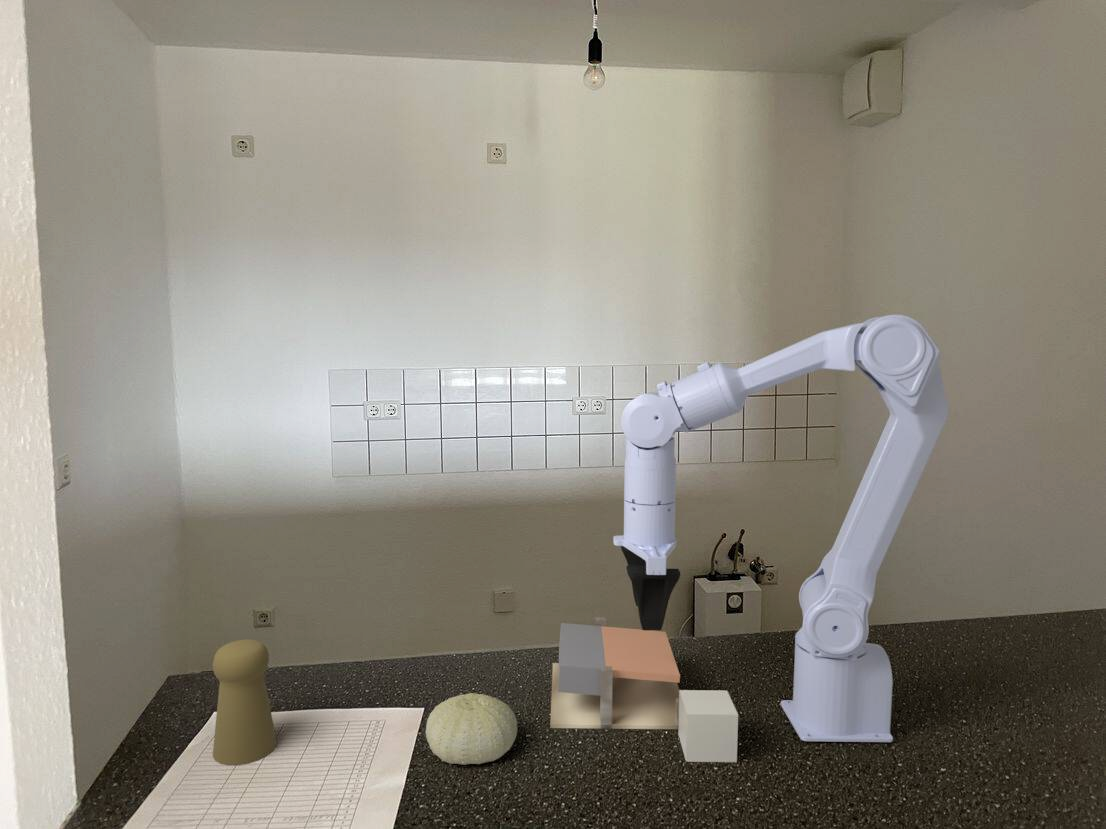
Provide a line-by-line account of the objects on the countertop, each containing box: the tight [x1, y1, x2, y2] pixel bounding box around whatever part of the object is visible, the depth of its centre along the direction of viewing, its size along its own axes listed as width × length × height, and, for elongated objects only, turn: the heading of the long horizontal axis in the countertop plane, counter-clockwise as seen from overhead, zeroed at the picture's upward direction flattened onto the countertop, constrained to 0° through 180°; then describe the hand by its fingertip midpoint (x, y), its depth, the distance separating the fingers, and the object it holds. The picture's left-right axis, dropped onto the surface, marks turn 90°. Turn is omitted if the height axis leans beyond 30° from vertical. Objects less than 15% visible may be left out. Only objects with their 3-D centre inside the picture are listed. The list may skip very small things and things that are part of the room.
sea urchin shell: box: [425, 692, 519, 766], centre depth 76 cm, size 9×8×8 cm
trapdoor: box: [558, 622, 681, 696], centre depth 87 cm, size 13×12×3 cm
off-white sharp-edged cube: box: [677, 689, 739, 763], centre depth 76 cm, size 5×5×5 cm
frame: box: [549, 616, 680, 730], centre depth 87 cm, size 15×15×6 cm
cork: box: [212, 639, 277, 766], centre depth 75 cm, size 6×6×11 cm
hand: (647, 616), depth 85 cm, fingers open, 7 cm apart
